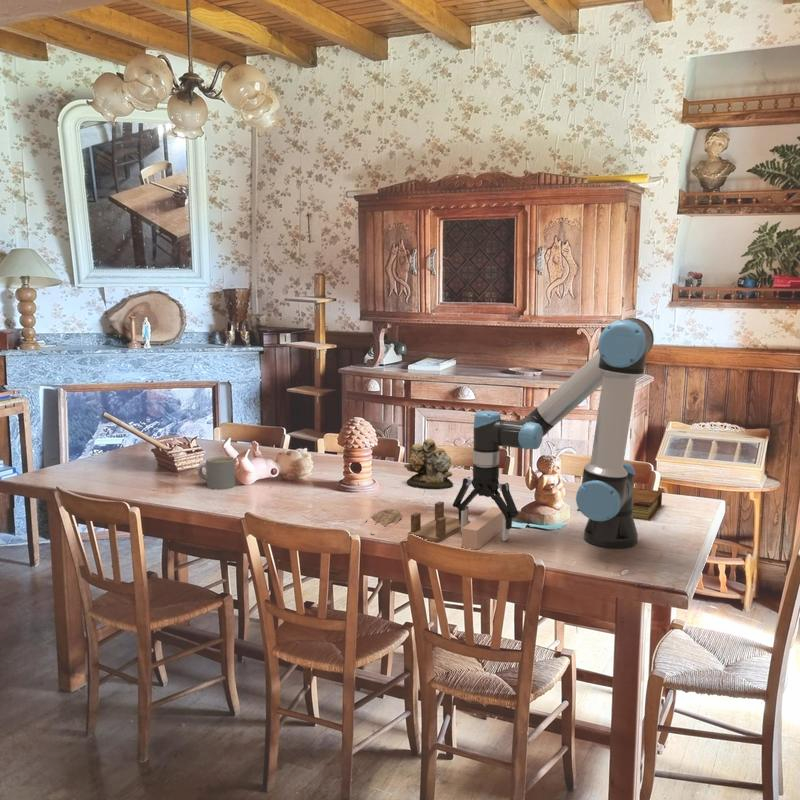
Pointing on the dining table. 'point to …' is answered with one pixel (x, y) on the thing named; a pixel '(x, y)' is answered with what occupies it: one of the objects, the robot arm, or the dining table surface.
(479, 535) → the clay strip
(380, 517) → the fish fossil
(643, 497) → the diary
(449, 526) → the rack
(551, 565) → the dining table surface
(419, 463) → the owl figurine
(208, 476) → the coffee mug
